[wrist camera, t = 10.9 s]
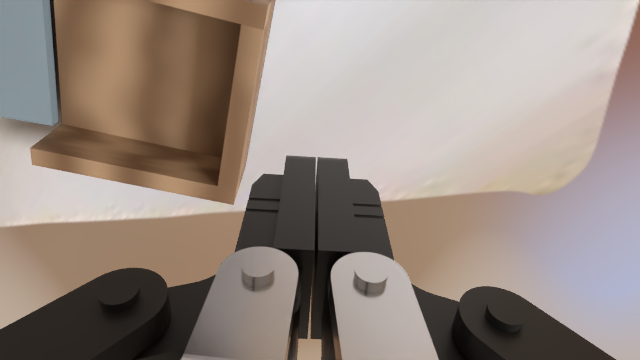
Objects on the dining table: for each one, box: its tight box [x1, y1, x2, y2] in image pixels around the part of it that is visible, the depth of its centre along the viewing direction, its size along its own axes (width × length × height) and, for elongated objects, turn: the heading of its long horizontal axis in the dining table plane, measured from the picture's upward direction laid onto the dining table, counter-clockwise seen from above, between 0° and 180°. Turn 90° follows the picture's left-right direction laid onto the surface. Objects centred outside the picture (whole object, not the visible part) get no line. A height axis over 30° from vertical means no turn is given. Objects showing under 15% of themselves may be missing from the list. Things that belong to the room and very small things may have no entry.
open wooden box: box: [30, 0, 275, 205], centre depth 35 cm, size 17×17×7 cm
